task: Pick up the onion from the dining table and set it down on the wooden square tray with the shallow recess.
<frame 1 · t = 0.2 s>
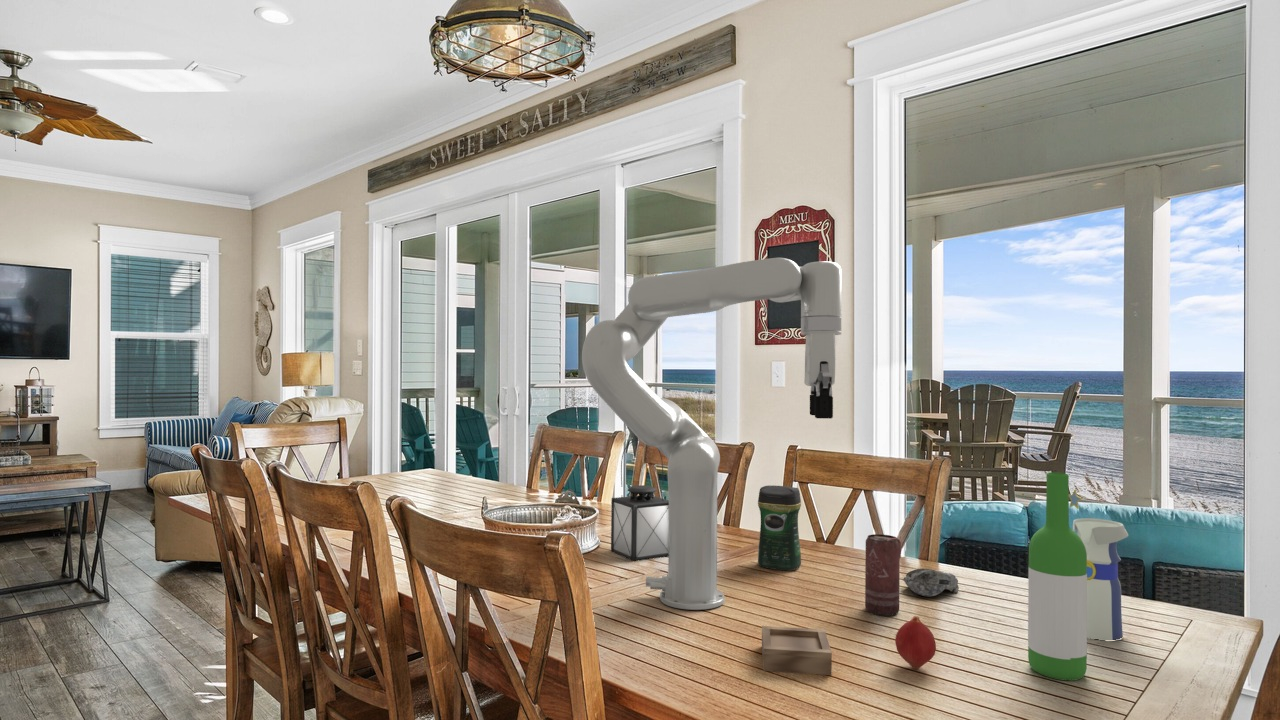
hand: (820, 416, 142), 36 cm above the table, tool pointing down, fingers open, 9 cm apart
lantern: (641, 554, 182), on the table
onion: (915, 669, 113), on the table
wooden square tray: (794, 660, 116), on the table
fossilized seashell: (931, 594, 152), on the table
coffee jar: (779, 567, 171), on the table
wine bottle: (1056, 673, 112), on the table
white spray bottle: (1097, 634, 129), on the table
can: (882, 612, 140), on the table
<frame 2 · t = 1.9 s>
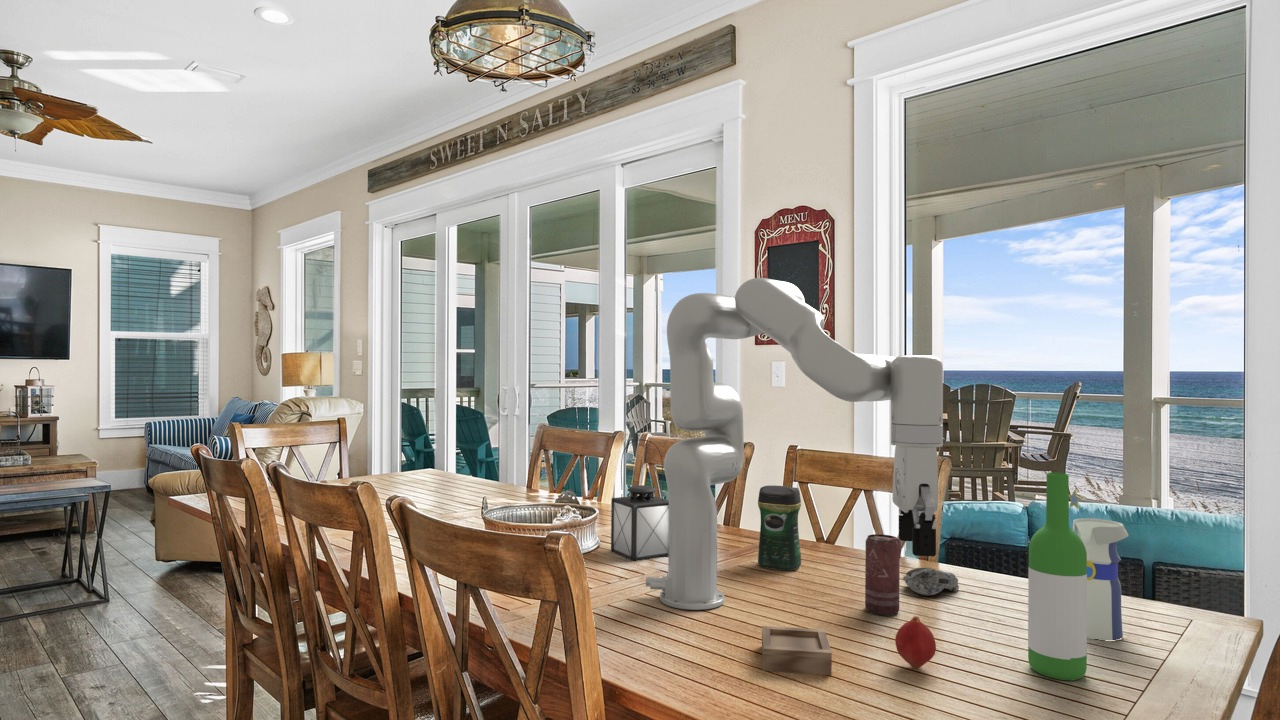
hand: (916, 547, 113), 18 cm above the table, tool pointing down, fingers open, 9 cm apart
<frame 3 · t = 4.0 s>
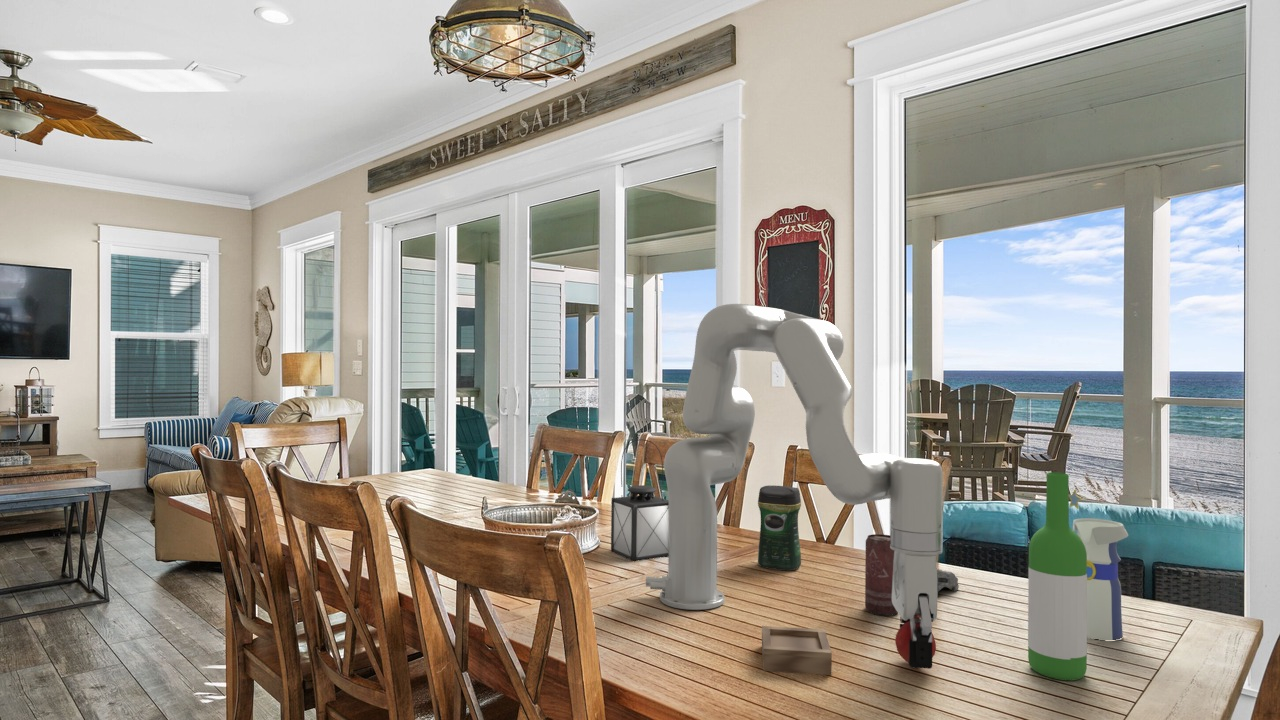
hand: (915, 657, 113), 2 cm above the table, tool pointing down, fingers closed on onion, 5 cm apart
onion: (915, 669, 113), on the table, touching gripper
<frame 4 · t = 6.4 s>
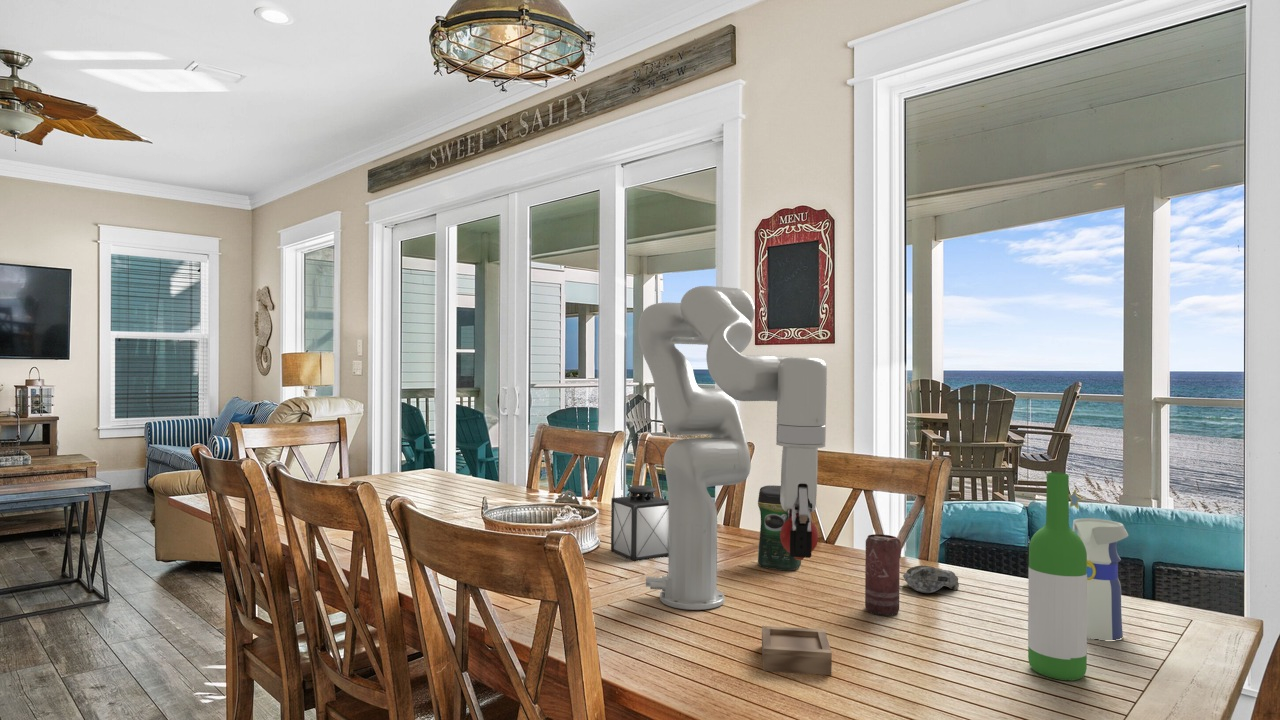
hand: (798, 550, 116), 17 cm above the table, tool pointing down, fingers closed on onion, 5 cm apart
onion: (798, 561, 116), point 15 cm above the table, touching gripper
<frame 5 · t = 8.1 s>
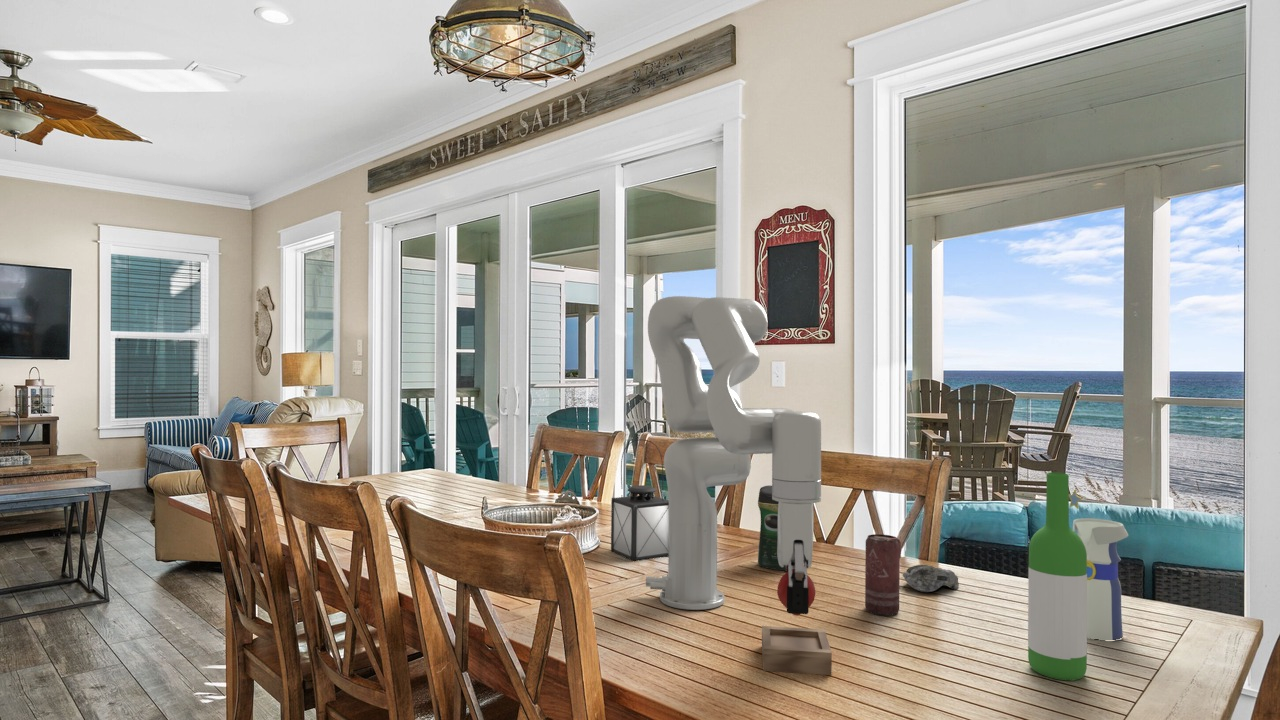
hand: (796, 605, 116), 9 cm above the table, tool pointing down, fingers closed on onion, 5 cm apart
onion: (796, 616, 116), point 7 cm above the table, touching gripper
when the fingers open (5 cm above the table, at t = 9.2 s): onion drops 1 cm, resting on wooden square tray.
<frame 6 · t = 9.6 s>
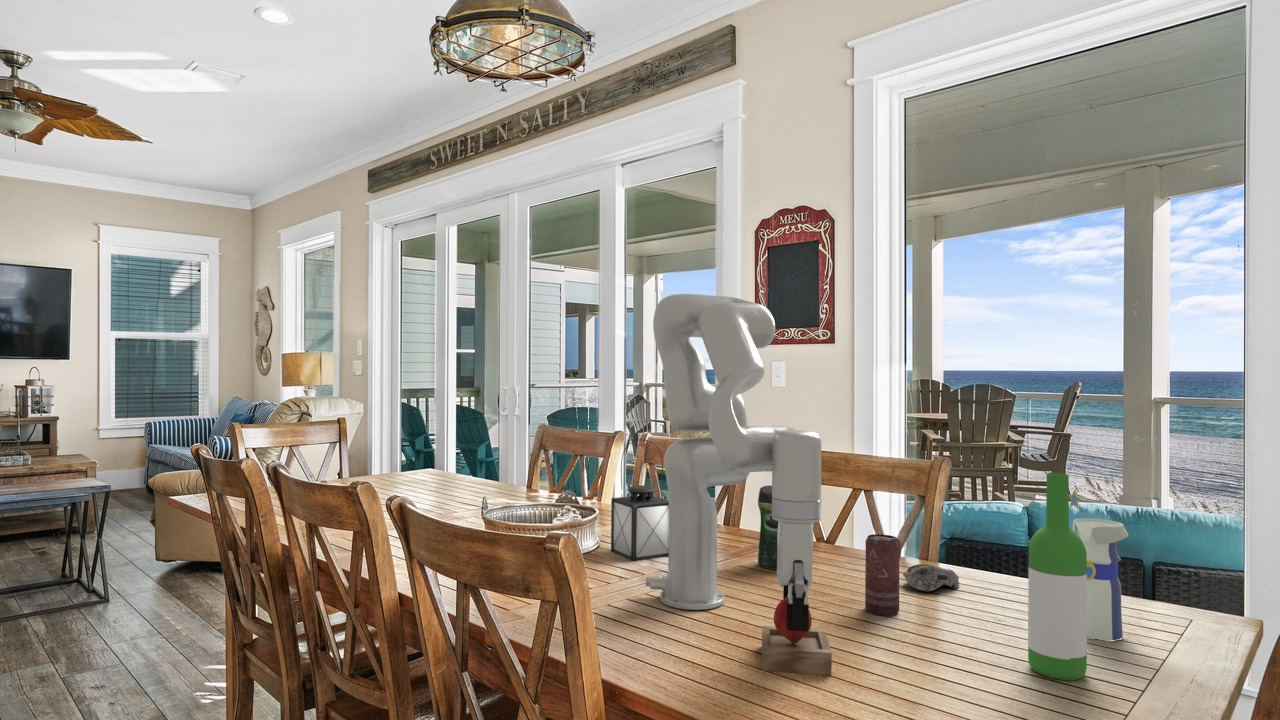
hand: (795, 619, 116), 6 cm above the table, tool pointing down, fingers open, 9 cm apart
onion: (794, 644, 116), point 2 cm above the table, touching wooden square tray
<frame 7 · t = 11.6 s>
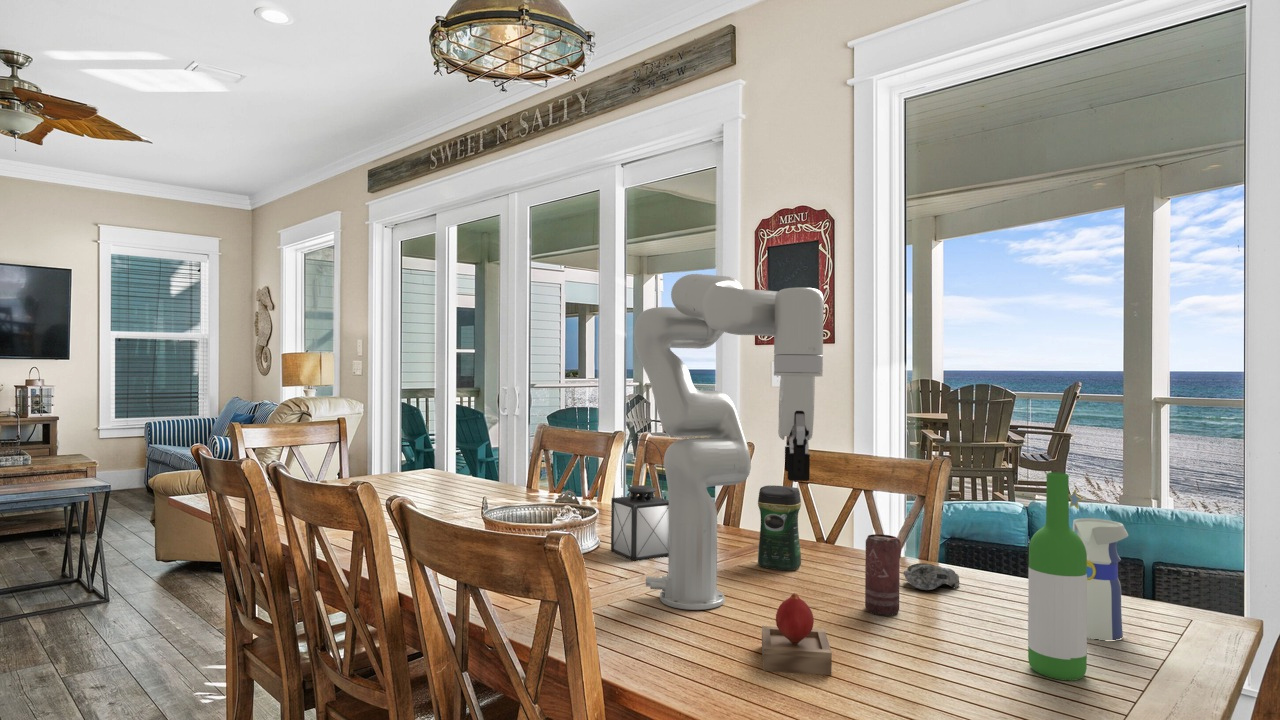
hand: (796, 475, 117), 29 cm above the table, tool pointing down, fingers open, 9 cm apart
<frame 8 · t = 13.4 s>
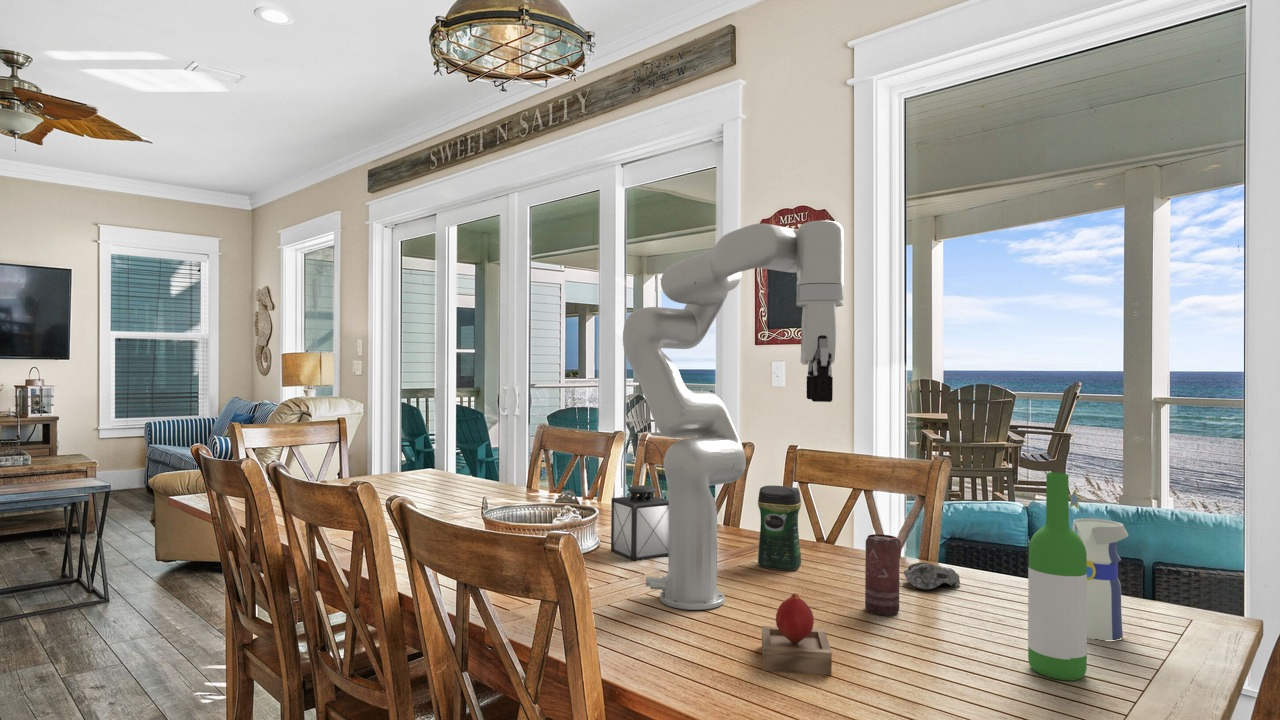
hand: (818, 400, 123), 40 cm above the table, tool pointing down, fingers open, 9 cm apart
at the end: onion inside the target area on the wooden square tray (0.2 cm from its centre), point 2.3 cm above the wooden square tray's base; the gripper is holding nothing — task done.
